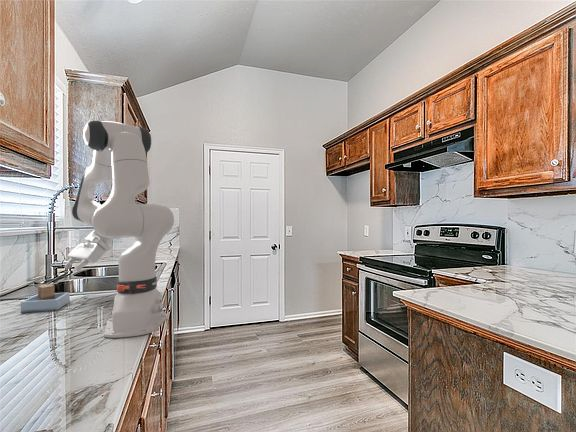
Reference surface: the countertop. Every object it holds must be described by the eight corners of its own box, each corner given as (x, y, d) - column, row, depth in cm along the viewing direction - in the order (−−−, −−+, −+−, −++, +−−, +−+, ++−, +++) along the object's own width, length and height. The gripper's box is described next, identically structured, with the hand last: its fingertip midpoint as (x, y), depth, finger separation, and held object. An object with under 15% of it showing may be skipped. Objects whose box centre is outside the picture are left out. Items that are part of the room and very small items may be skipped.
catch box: (57, 310, 123) (56, 299, 123) (20, 313, 120) (20, 302, 120) (69, 302, 134) (69, 292, 134) (36, 304, 131) (36, 294, 131)
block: (54, 304, 127) (54, 285, 127) (42, 307, 124) (42, 287, 124) (50, 303, 130) (50, 284, 130) (38, 305, 127) (37, 286, 127)
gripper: (79, 237, 146) (54, 262, 138) (101, 238, 134) (75, 266, 126) (90, 246, 150) (66, 271, 142) (112, 248, 138) (88, 275, 130)
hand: (71, 269), depth 134 cm, fingers open, 8 cm apart
